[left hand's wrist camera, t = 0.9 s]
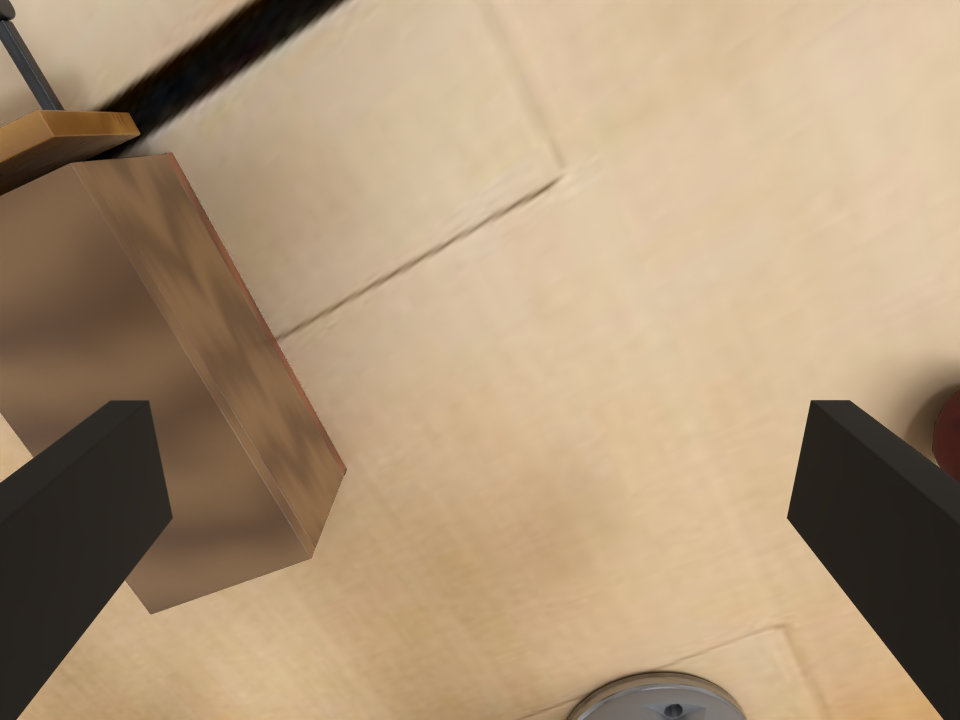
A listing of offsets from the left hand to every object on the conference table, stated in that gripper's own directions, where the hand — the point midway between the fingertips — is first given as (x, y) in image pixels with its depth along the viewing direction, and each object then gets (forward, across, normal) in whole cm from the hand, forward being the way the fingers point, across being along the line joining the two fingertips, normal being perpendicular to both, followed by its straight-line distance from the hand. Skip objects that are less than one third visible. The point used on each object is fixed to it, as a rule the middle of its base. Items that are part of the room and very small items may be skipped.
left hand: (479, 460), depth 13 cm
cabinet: (+26, -18, -7) cm, 32 cm away
